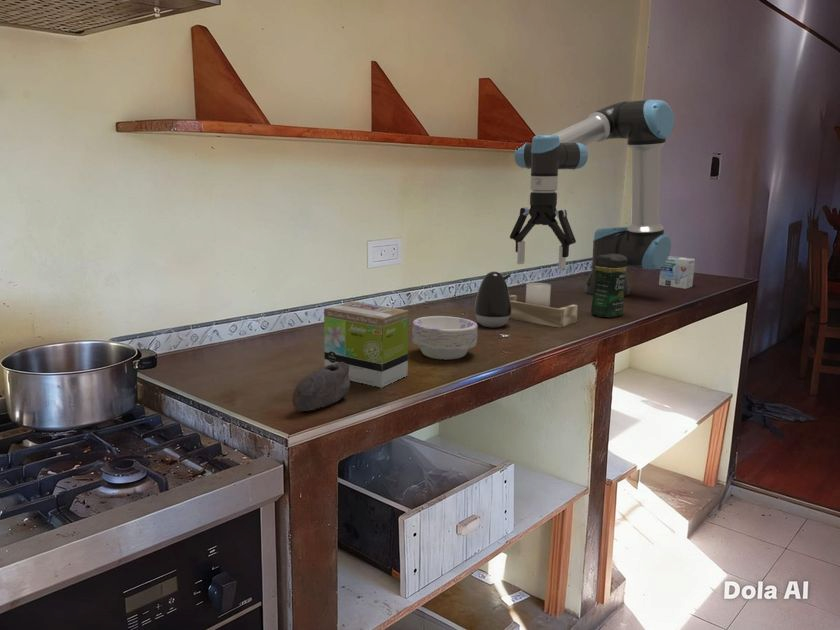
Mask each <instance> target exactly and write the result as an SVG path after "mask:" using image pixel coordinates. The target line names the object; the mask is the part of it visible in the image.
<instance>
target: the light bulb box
mask: <svg viewBox="0 0 840 630" xmlns="http://www.w3.org/2000/svg"><path fill="white" fill-rule="evenodd" d="M695 262H696V259H695V258H691V257H683V256H682V257H681V256H670V255H669V257H668V259H667V260H666V262H665V264H664V265H663V266H662V267H660V268H659V270H660V271H659V281H658V286H664V287H669V286H670V287H671V288H678V289H684V290H685V289H689V288H692V287H693V282H694V274H695V264H696V263H695Z"/></svg>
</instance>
